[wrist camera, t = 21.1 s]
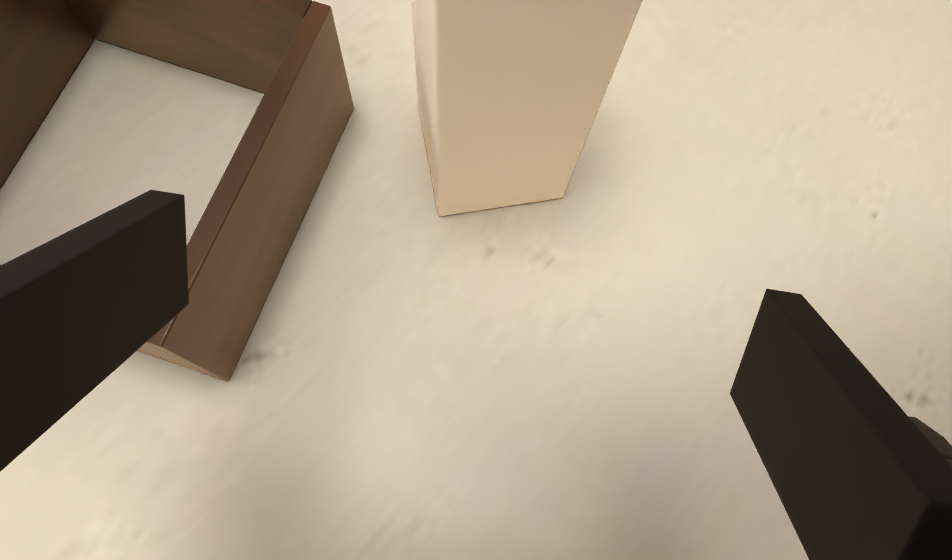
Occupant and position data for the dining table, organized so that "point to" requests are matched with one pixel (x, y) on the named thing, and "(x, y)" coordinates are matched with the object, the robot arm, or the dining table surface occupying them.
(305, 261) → the dining table surface
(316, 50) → the caddy
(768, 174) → the dining table surface
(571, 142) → the milk
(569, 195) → the dining table surface
